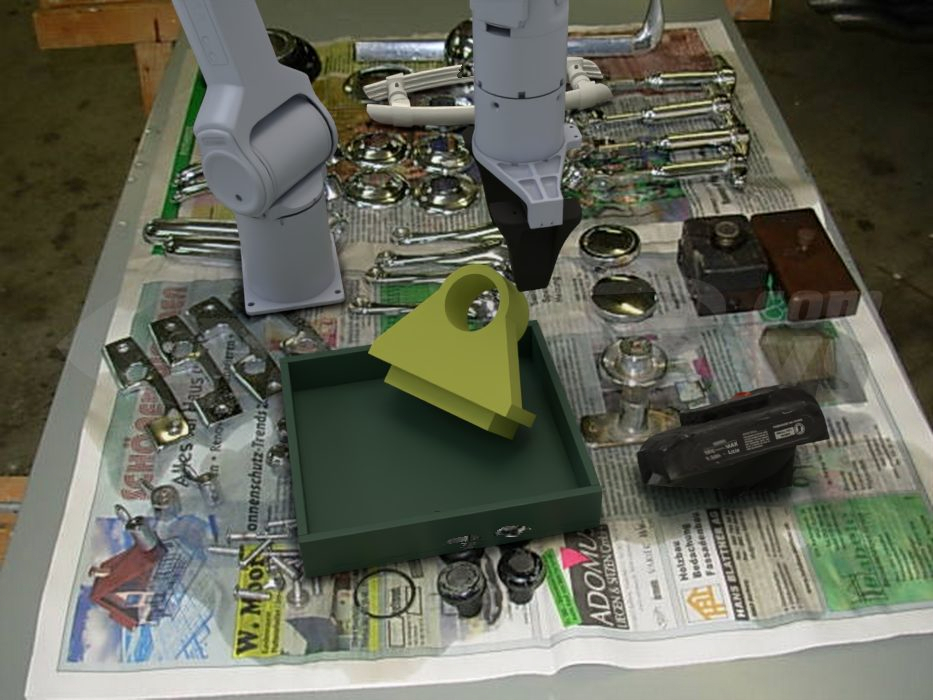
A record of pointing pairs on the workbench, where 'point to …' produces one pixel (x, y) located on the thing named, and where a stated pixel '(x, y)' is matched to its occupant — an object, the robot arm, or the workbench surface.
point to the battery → (736, 442)
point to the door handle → (407, 116)
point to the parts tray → (425, 463)
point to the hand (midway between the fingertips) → (518, 253)
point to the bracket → (462, 352)
